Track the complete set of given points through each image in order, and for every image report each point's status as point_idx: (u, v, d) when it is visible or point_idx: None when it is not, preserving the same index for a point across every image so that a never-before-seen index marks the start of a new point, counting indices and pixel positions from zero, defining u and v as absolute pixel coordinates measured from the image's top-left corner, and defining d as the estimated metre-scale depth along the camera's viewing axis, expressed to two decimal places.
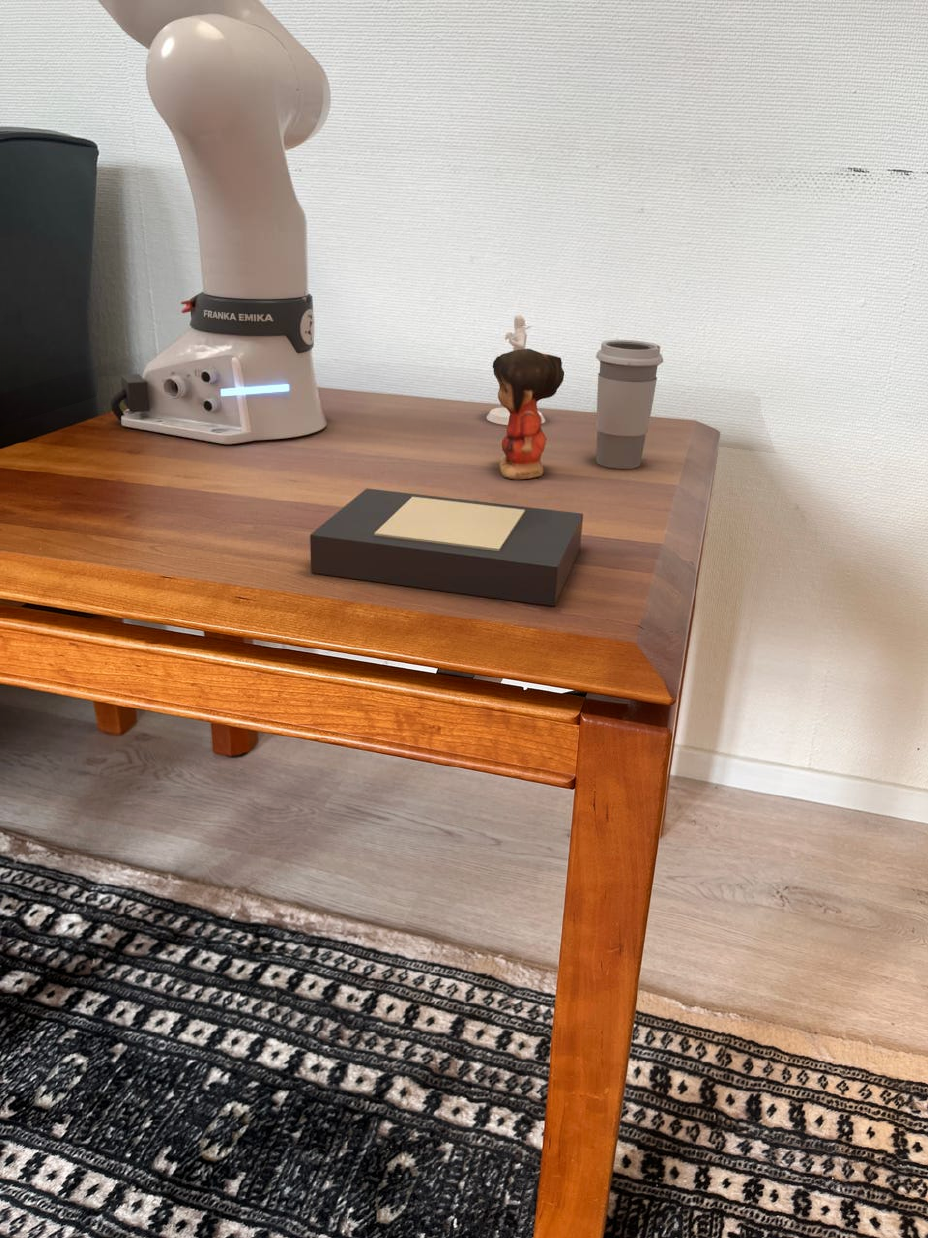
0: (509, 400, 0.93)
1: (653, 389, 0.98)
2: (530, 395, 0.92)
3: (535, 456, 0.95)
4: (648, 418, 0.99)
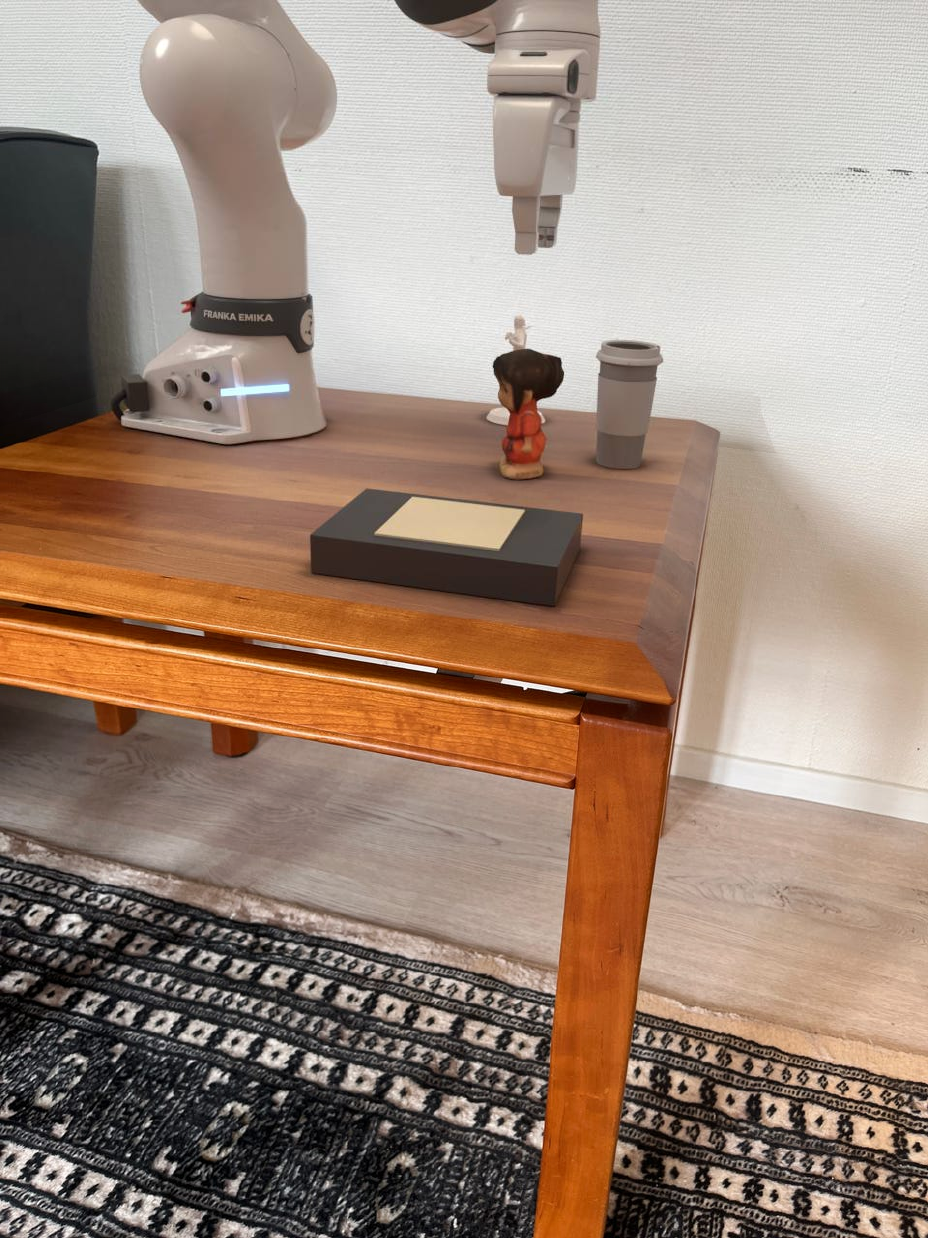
0: (509, 400, 0.93)
1: (653, 389, 0.98)
2: (530, 395, 0.92)
3: (535, 456, 0.95)
4: (648, 418, 0.99)
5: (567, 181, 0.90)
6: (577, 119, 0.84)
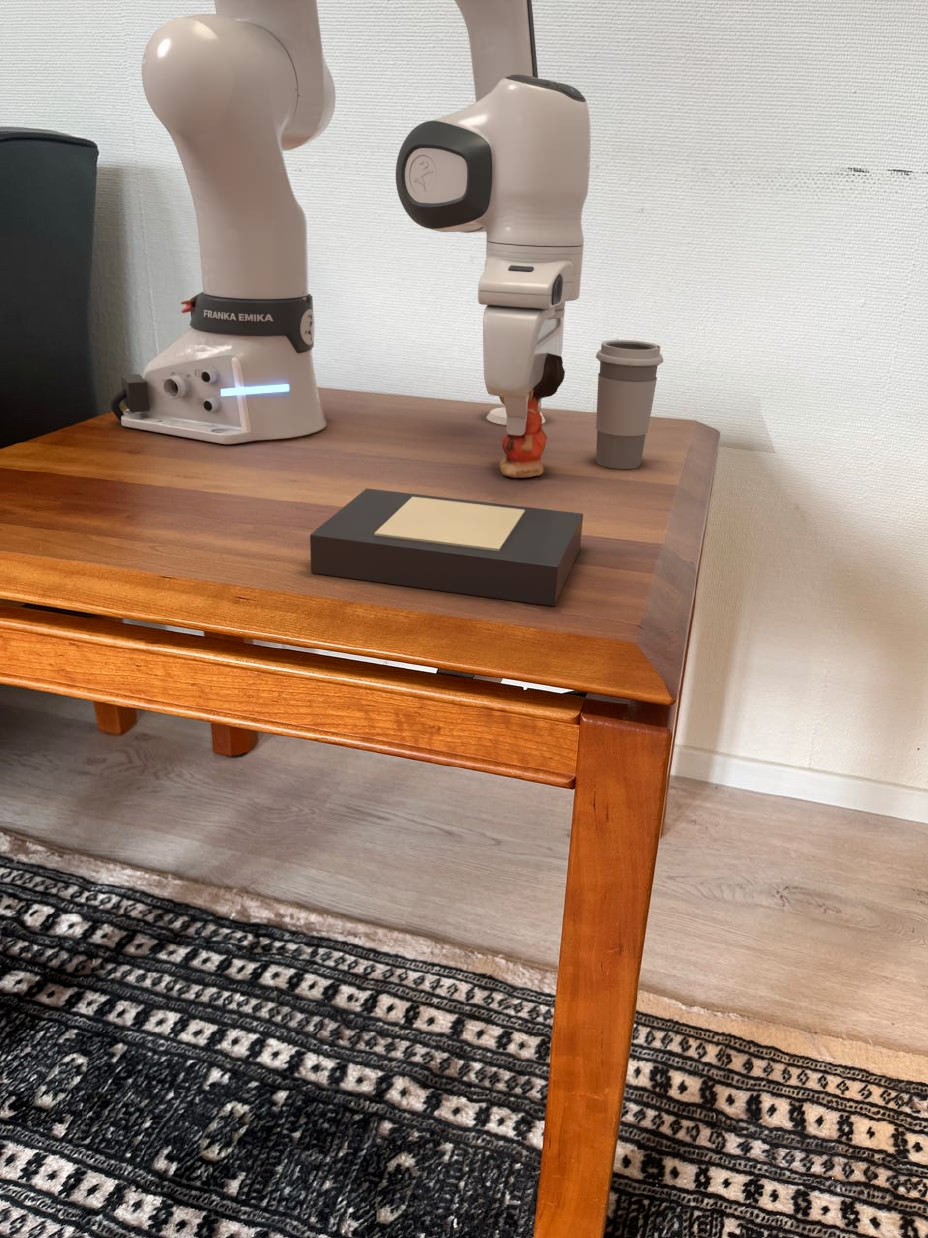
0: None
1: (653, 389, 0.98)
2: (531, 393, 0.92)
3: (535, 455, 0.95)
4: (648, 418, 0.99)
5: None
6: (562, 316, 0.91)
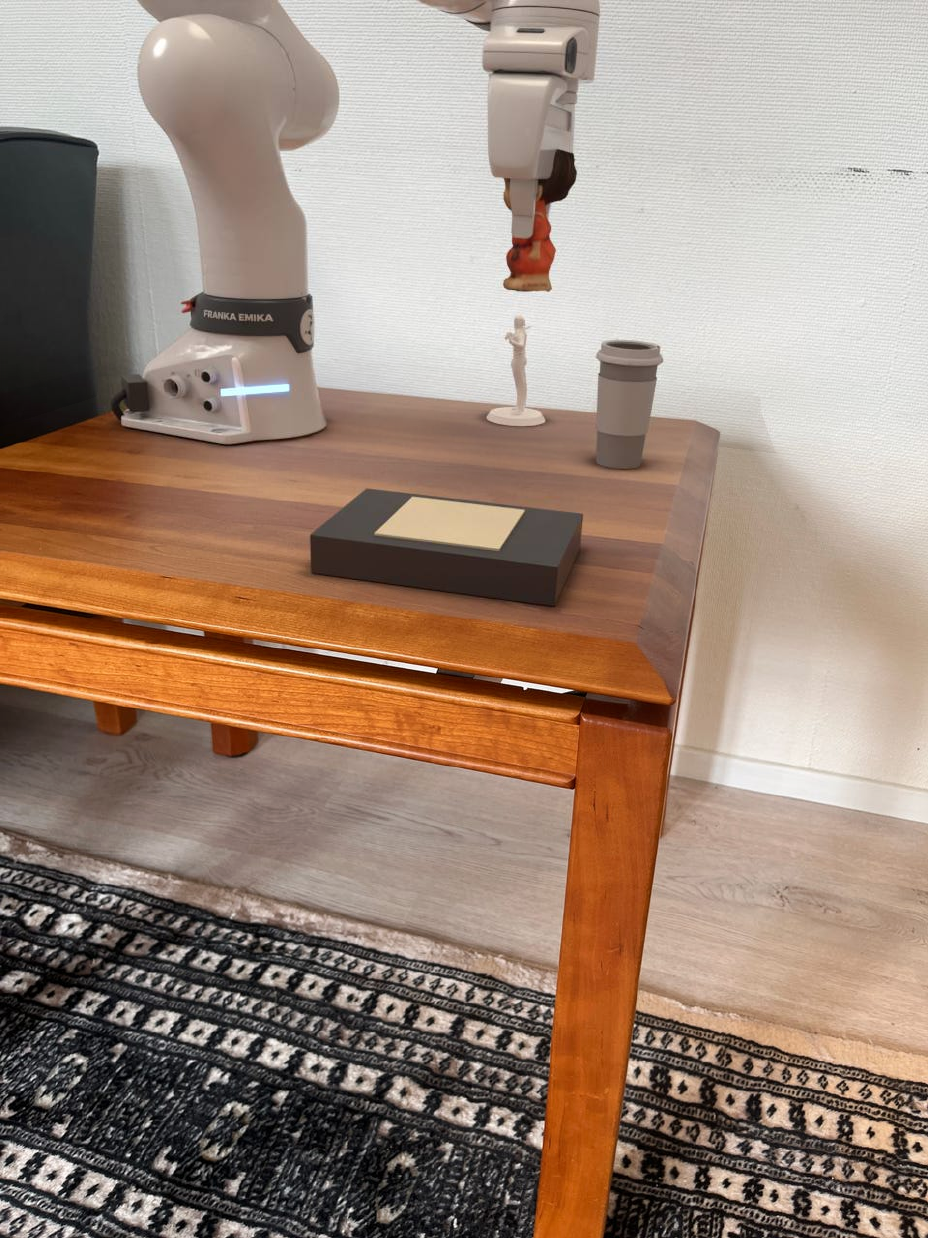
0: None
1: (653, 389, 0.98)
2: (540, 190, 0.83)
3: (543, 266, 0.86)
4: (648, 418, 0.99)
5: None
6: (574, 100, 0.81)
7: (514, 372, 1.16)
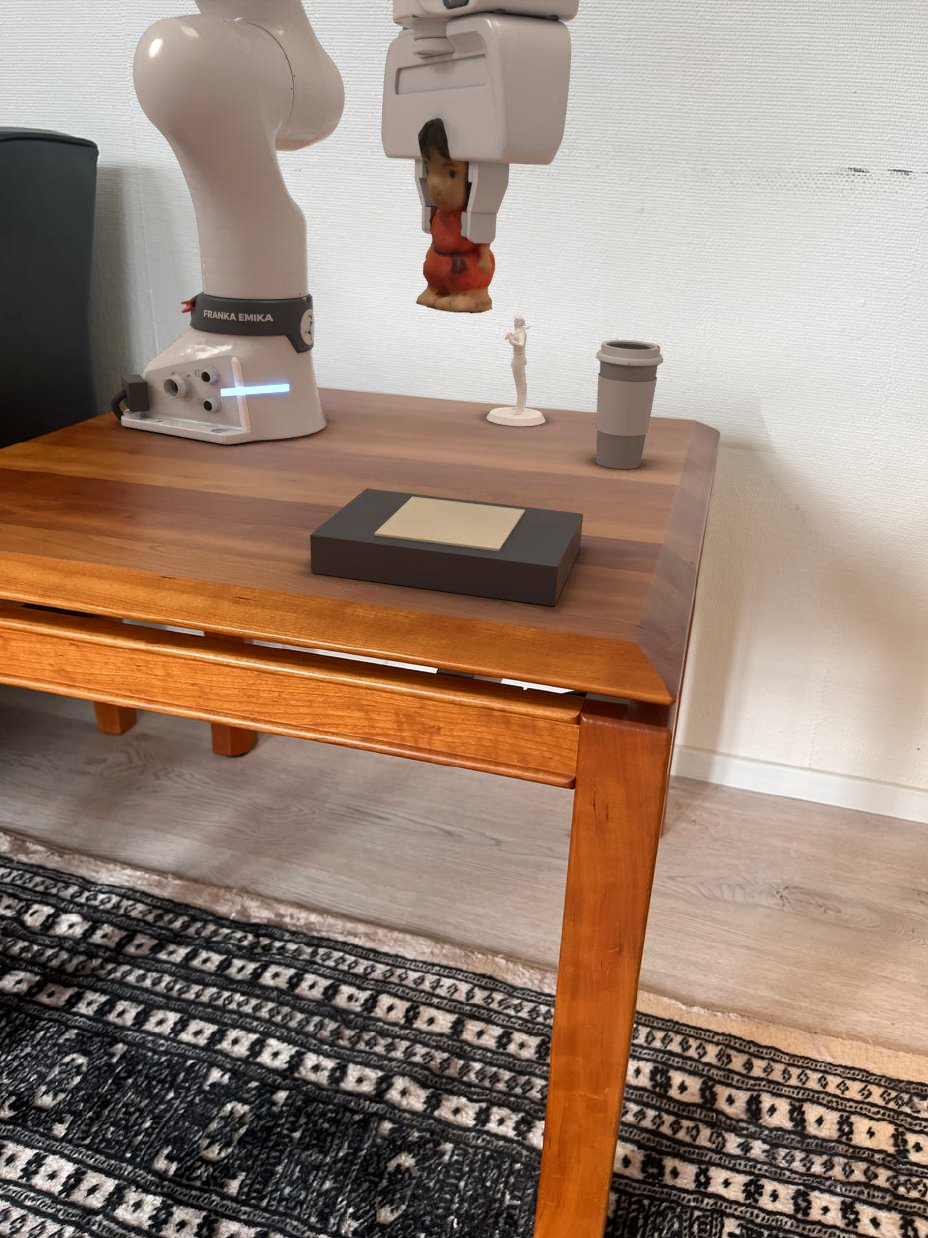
0: (458, 189, 0.62)
1: (653, 389, 0.98)
2: None
3: (491, 277, 0.66)
4: (648, 418, 0.99)
5: None
6: None
7: (514, 372, 1.16)
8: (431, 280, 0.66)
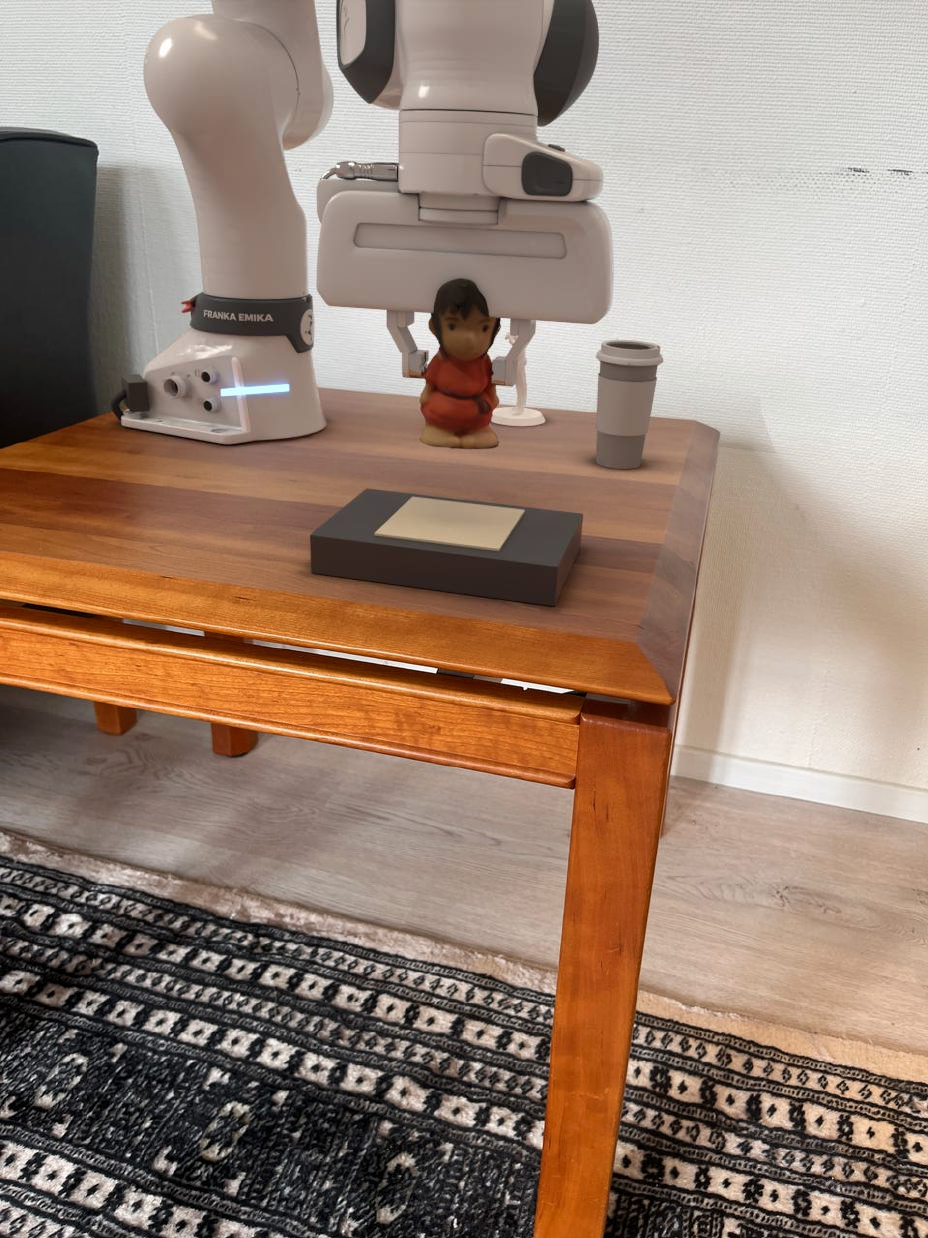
0: (487, 340, 0.67)
1: (653, 389, 0.98)
2: None
3: None
4: (648, 418, 0.99)
5: None
6: None
7: None
8: (451, 423, 0.69)
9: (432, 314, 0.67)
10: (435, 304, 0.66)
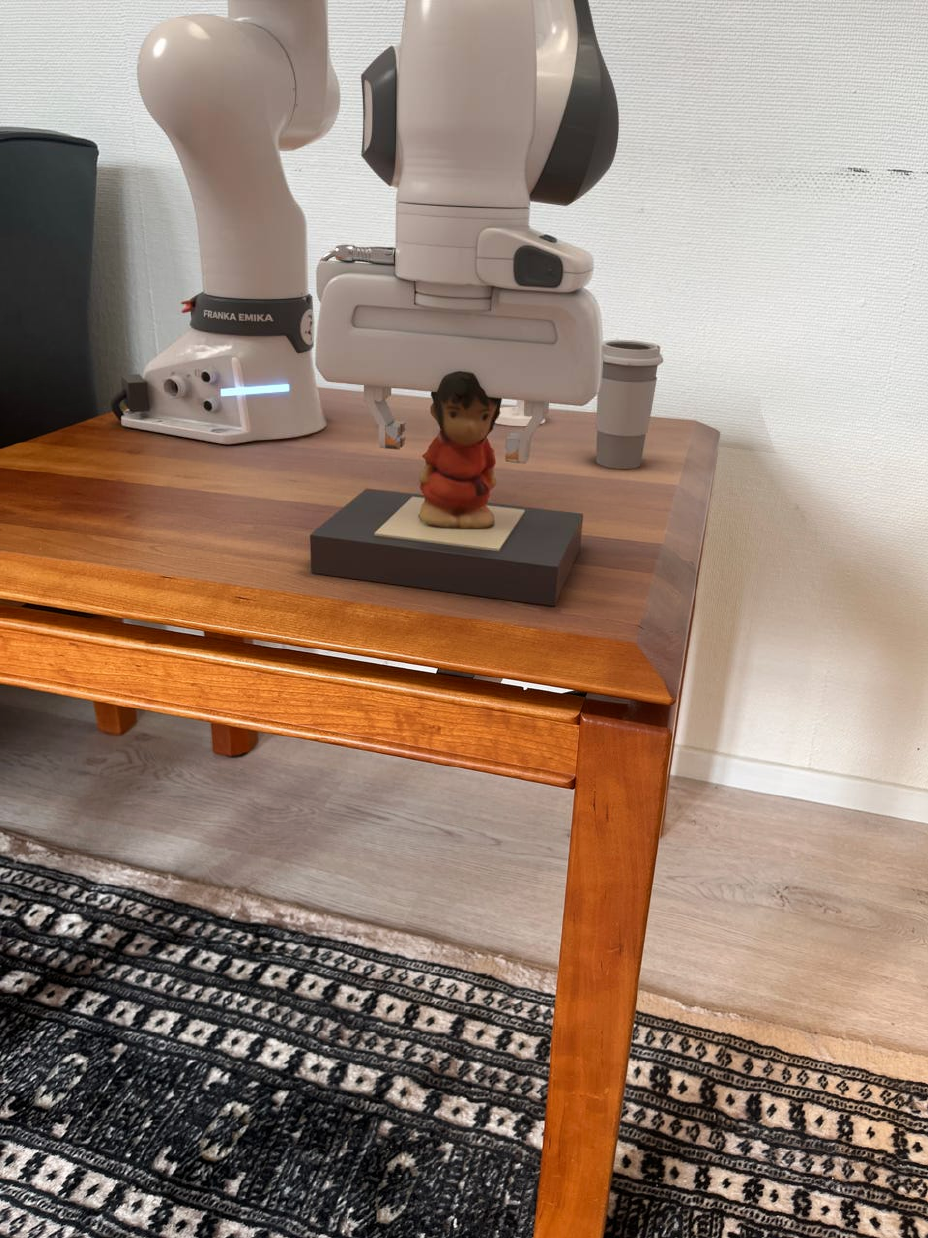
0: (486, 427, 0.69)
1: (653, 389, 0.98)
2: (498, 412, 0.71)
3: None
4: (648, 418, 0.99)
5: None
6: None
7: None
8: (449, 503, 0.72)
9: (434, 401, 0.69)
10: (437, 392, 0.68)
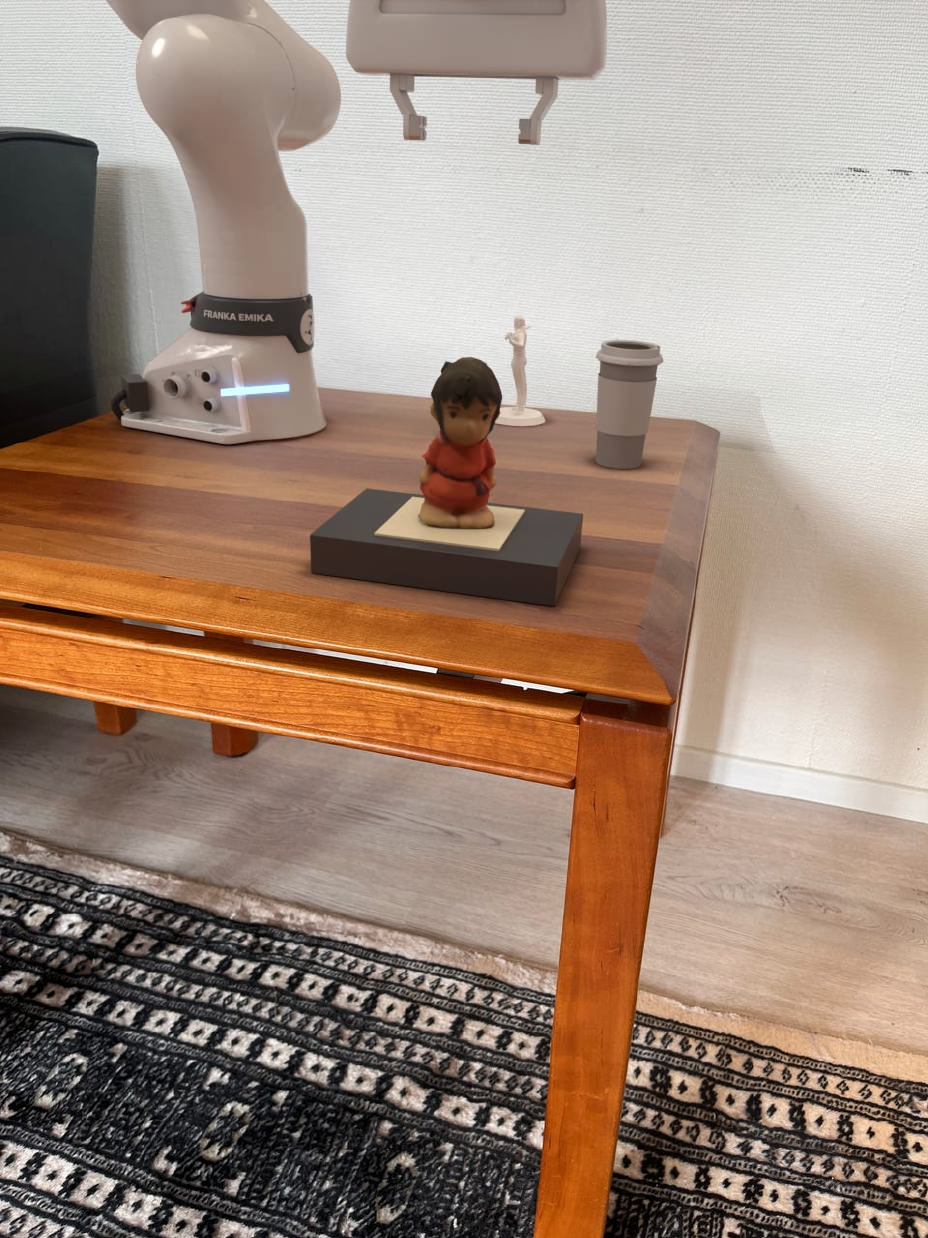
0: (486, 427, 0.69)
1: (653, 389, 0.98)
2: (498, 412, 0.71)
3: None
4: (648, 418, 0.99)
5: None
6: None
7: (514, 372, 1.16)
8: (449, 503, 0.72)
9: (434, 401, 0.69)
10: (438, 392, 0.68)
